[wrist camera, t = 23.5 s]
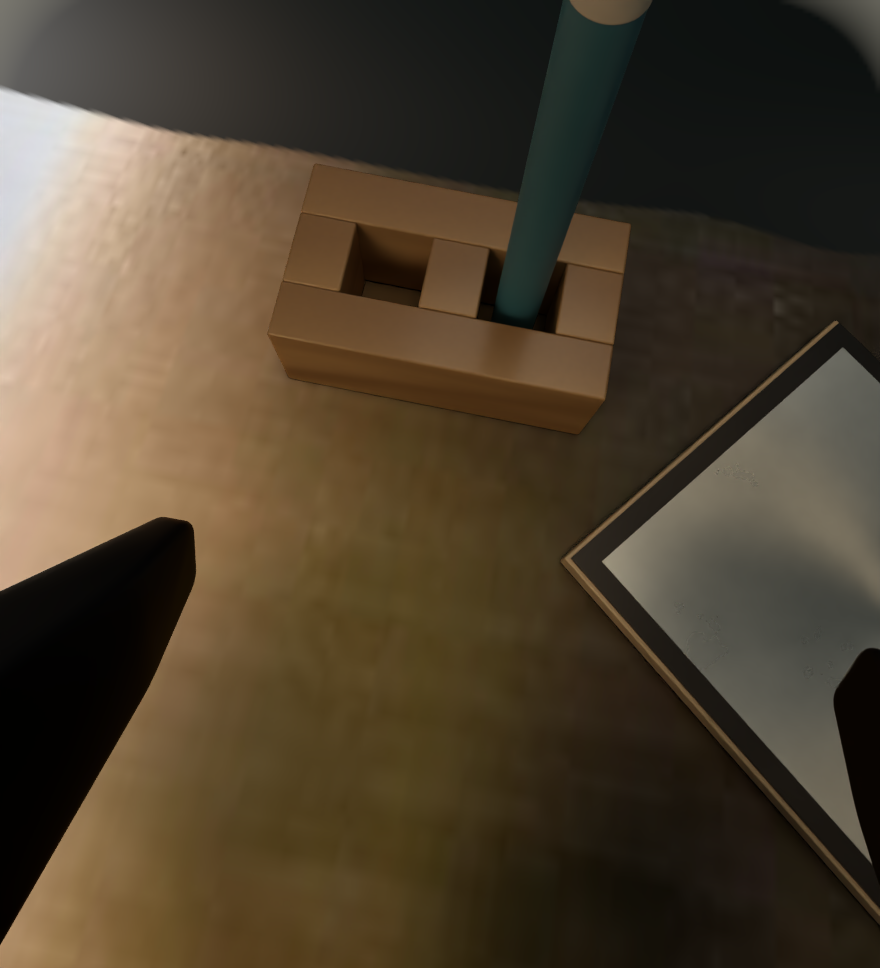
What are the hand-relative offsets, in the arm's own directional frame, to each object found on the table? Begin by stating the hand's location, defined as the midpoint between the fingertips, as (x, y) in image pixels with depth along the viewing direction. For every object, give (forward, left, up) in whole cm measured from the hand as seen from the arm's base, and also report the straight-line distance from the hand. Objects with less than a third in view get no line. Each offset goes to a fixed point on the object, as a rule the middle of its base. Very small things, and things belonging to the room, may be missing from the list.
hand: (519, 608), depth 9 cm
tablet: (+10, -9, -13) cm, 19 cm away
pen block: (+7, +8, -13) cm, 17 cm away
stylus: (+8, +6, -13) cm, 17 cm away
